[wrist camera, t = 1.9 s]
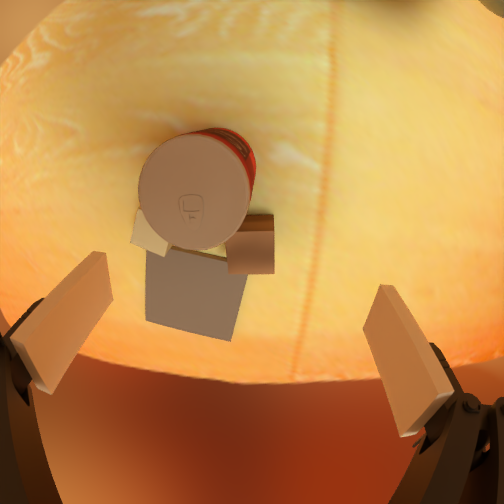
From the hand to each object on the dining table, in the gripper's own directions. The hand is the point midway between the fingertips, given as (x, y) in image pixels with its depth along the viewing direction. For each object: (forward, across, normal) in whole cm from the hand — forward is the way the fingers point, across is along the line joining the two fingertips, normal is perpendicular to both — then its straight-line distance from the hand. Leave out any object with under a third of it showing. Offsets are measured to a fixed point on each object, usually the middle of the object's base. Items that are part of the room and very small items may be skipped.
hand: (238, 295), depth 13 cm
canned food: (+18, -4, +3) cm, 18 cm away
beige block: (+18, -10, -4) cm, 21 cm away
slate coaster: (+18, -6, -13) cm, 23 cm away
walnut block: (+18, 0, -4) cm, 18 cm away
